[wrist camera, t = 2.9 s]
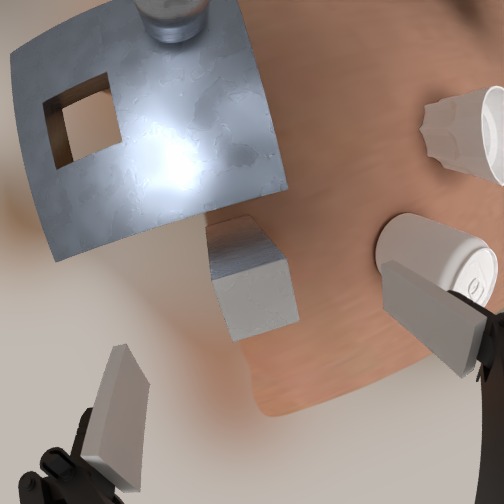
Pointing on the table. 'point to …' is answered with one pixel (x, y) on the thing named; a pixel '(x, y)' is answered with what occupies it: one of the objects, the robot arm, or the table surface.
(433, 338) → the robot arm
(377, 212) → the table surface
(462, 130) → the cup
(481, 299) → the beverage can
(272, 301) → the grey square peg
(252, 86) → the slotted metal base
